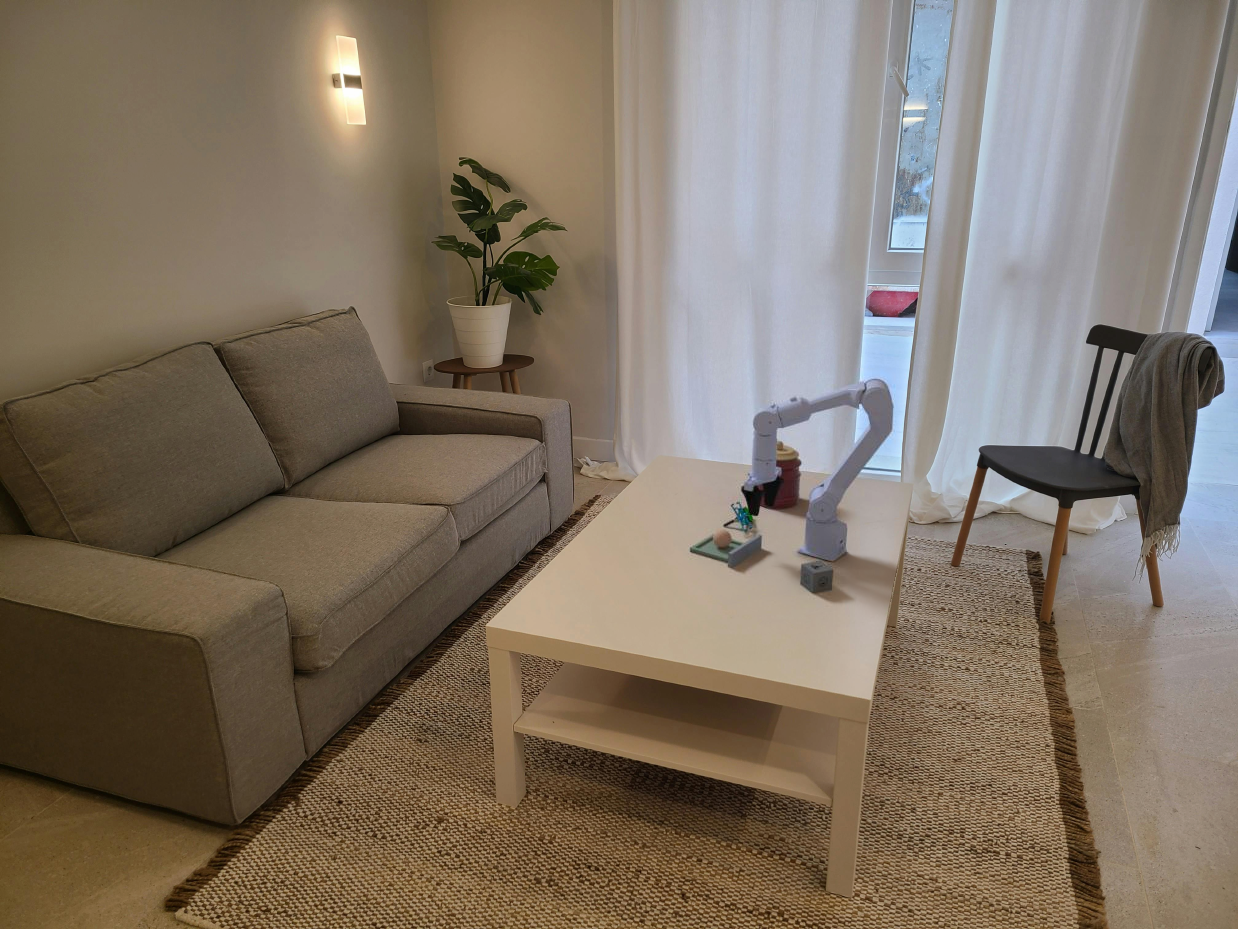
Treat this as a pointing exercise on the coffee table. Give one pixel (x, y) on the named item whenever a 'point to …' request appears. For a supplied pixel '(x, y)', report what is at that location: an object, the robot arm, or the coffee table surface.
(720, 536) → the rubber ball
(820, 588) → the dice cube
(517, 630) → the coffee table surface
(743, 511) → the stick construction toy
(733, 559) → the low wall
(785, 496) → the canister
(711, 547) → the green tray
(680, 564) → the coffee table surface
